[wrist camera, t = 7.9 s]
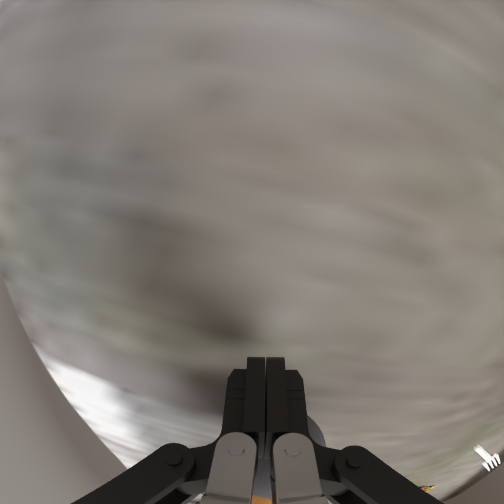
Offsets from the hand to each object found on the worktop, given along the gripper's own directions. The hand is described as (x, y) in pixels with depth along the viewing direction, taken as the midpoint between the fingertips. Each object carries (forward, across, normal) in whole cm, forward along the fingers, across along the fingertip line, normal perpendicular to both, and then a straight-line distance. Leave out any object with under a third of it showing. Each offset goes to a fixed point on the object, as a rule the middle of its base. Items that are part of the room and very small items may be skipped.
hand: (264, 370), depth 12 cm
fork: (+2, -33, +27) cm, 42 cm away
